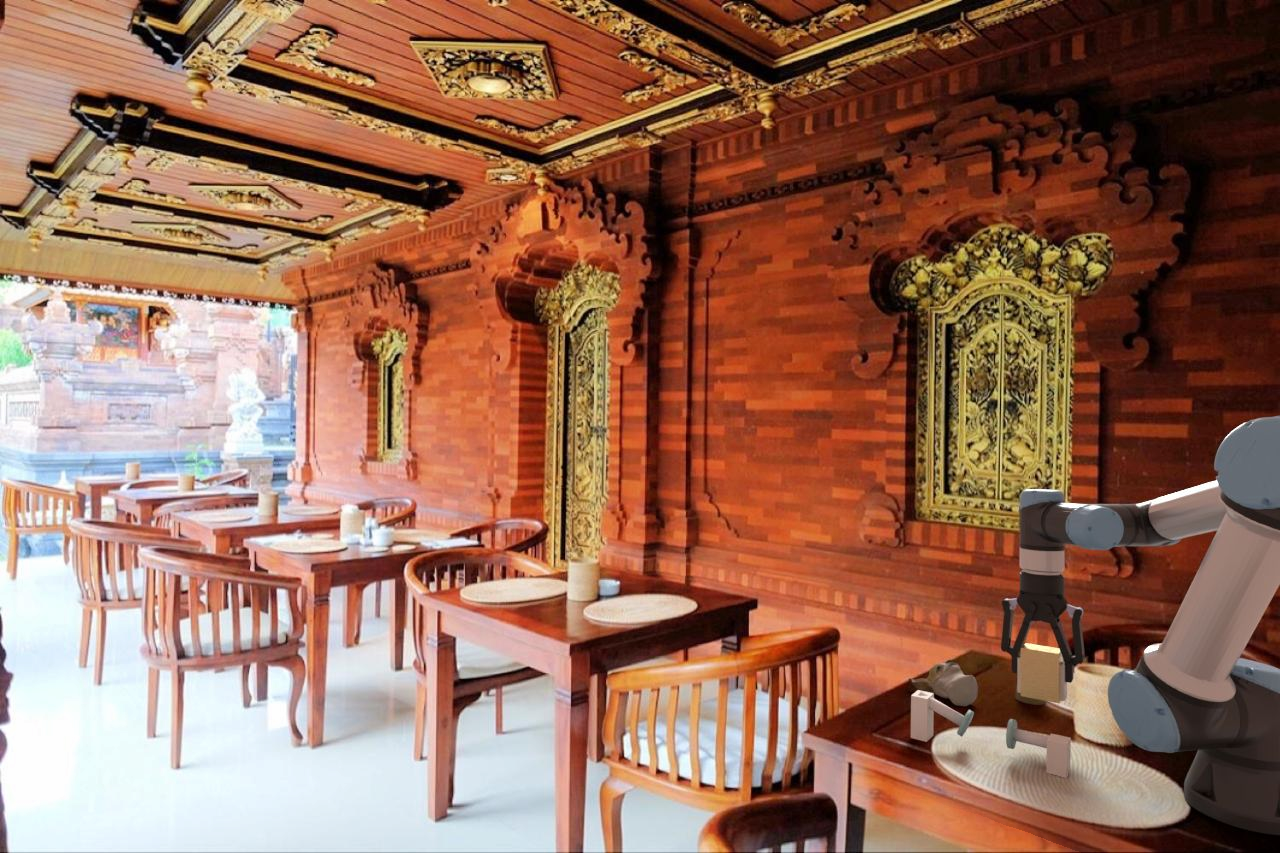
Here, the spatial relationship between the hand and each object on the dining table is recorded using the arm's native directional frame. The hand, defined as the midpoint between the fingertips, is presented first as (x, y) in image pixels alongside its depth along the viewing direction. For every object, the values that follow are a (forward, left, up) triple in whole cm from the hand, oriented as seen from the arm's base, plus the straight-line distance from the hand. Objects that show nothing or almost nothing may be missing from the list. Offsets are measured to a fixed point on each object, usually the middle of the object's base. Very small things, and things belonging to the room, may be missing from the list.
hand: (1042, 694), depth 143 cm
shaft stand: (+6, +12, -9) cm, 16 cm away
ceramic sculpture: (+21, -14, -9) cm, 27 cm away
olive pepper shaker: (+6, -24, -9) cm, 27 cm away
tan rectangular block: (0, 0, 0) cm, 0 cm away
